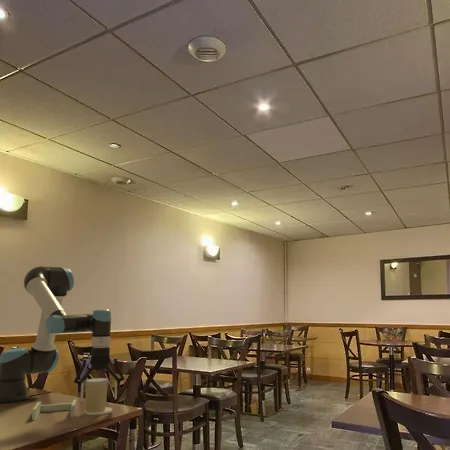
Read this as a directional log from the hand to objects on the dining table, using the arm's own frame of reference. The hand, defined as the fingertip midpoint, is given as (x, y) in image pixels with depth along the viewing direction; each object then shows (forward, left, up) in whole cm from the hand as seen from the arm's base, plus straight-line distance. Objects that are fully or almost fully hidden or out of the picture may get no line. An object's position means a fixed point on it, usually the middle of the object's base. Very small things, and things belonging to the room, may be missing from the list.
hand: (98, 399), depth 181 cm
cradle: (-2, -17, -5) cm, 18 cm away
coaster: (0, 0, -5) cm, 5 cm away
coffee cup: (0, -1, -4) cm, 4 cm away
